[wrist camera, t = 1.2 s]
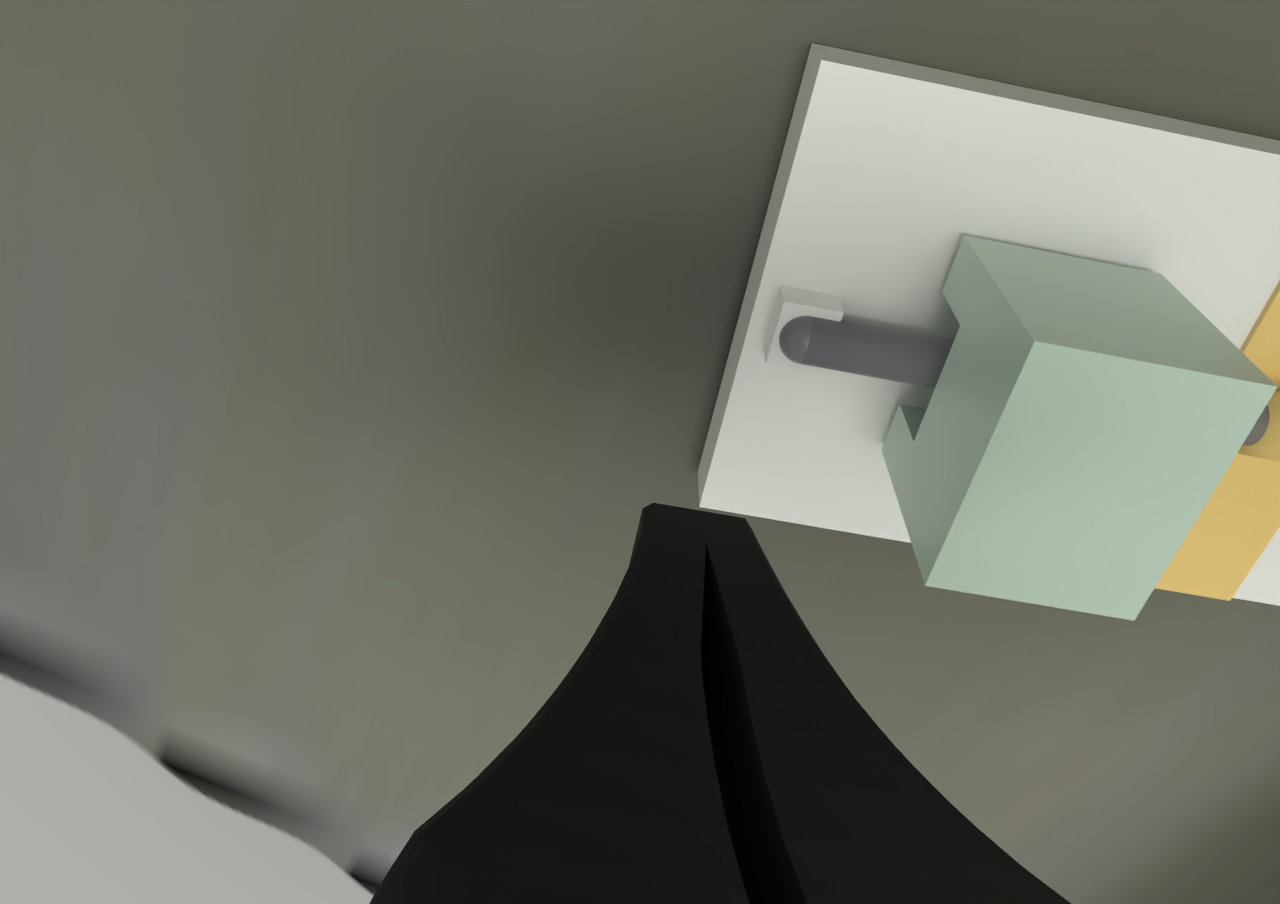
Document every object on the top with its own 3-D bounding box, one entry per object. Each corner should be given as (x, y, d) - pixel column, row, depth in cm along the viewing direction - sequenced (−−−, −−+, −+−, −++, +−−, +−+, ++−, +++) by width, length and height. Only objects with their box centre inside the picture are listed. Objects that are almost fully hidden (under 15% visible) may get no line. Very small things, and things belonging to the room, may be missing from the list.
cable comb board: (1666, 221, 21) (1855, 300, 17) (1381, 589, 26) (1484, 703, 23) (811, 42, 19) (840, 92, 16) (697, 470, 25) (701, 573, 21)
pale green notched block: (1160, 273, 20) (1277, 386, 16) (1055, 481, 22) (1134, 621, 18) (963, 235, 19) (1034, 341, 16) (881, 450, 22) (925, 585, 18)
